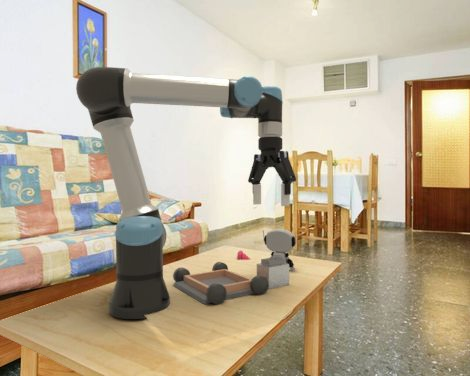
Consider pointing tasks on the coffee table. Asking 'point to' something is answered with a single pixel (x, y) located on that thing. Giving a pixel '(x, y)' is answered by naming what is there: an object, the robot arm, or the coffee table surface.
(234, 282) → the chassis
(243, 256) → the toy pieces
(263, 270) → the block
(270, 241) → the robot toy
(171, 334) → the coffee table surface
